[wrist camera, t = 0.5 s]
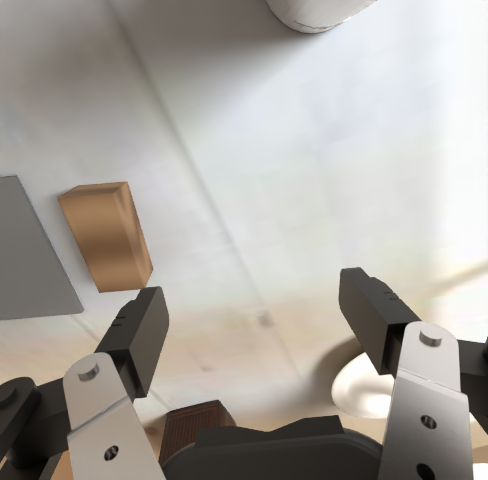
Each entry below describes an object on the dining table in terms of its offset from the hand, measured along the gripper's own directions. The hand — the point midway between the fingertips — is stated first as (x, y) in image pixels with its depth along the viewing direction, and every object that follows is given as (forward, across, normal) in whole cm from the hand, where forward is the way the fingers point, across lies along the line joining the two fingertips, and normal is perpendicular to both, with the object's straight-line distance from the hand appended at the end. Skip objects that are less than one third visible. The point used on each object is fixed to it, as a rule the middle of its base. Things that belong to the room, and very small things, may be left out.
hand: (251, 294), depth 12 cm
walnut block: (+18, +14, +3) cm, 23 cm away
